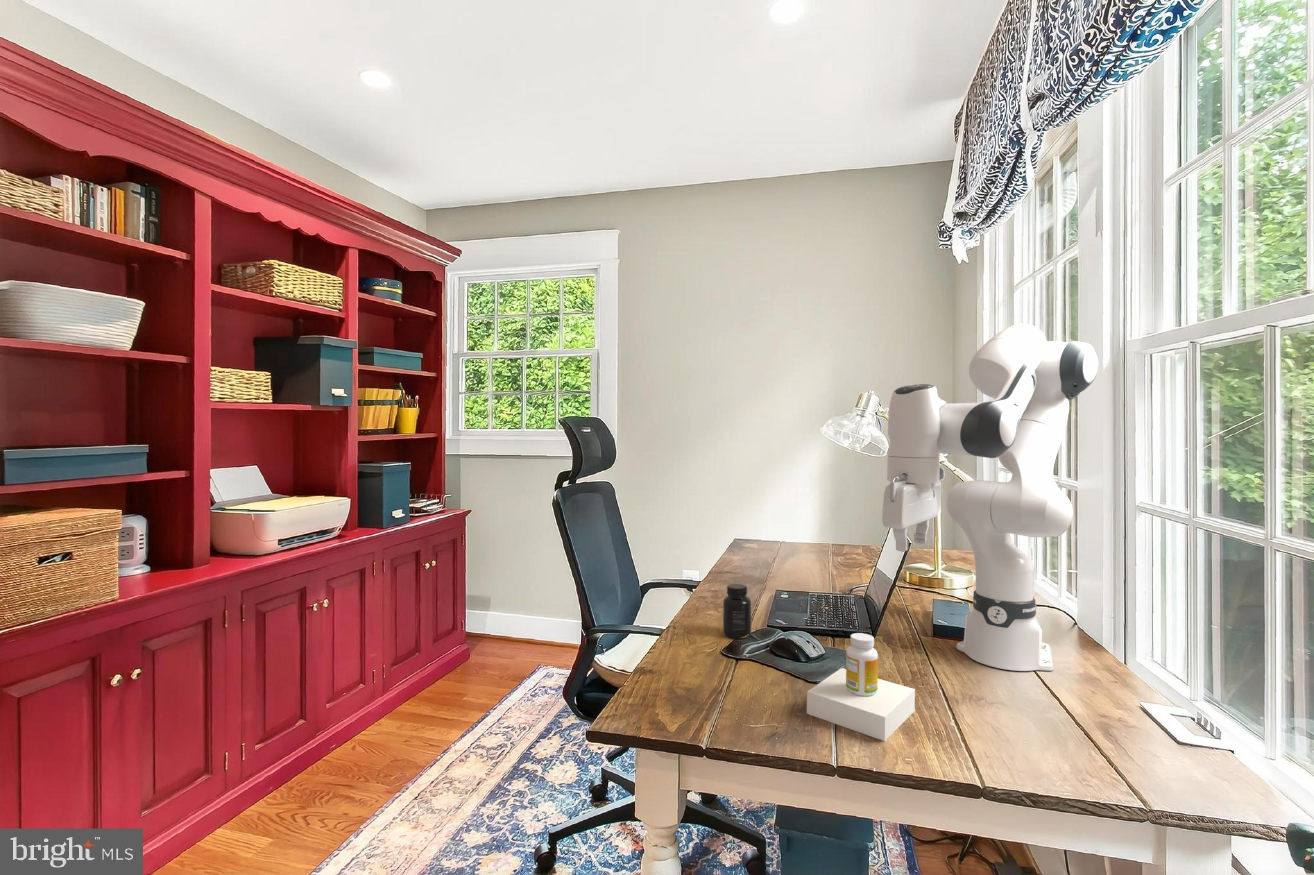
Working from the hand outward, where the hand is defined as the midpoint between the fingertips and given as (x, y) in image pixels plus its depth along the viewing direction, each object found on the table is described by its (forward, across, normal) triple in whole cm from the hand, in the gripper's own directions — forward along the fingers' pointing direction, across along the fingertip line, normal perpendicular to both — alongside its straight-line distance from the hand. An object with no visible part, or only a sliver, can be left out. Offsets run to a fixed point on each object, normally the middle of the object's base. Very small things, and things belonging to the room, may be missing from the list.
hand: (911, 546), depth 113 cm
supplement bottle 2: (+25, -10, +5) cm, 28 cm away
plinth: (+29, -10, +5) cm, 31 cm away
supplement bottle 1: (+29, +8, +44) cm, 53 cm away
